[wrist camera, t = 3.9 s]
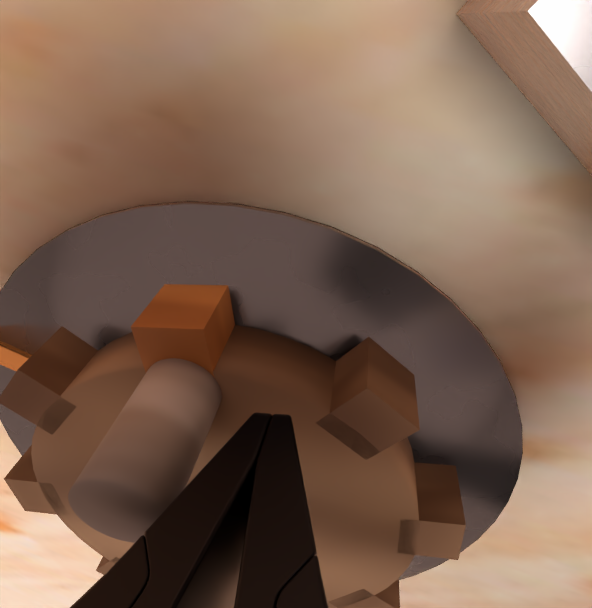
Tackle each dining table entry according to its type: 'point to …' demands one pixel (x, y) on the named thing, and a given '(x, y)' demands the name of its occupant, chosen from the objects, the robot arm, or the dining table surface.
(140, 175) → the dining table surface
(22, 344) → the sprocket base
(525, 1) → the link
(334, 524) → the sprocket
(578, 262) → the dining table surface
